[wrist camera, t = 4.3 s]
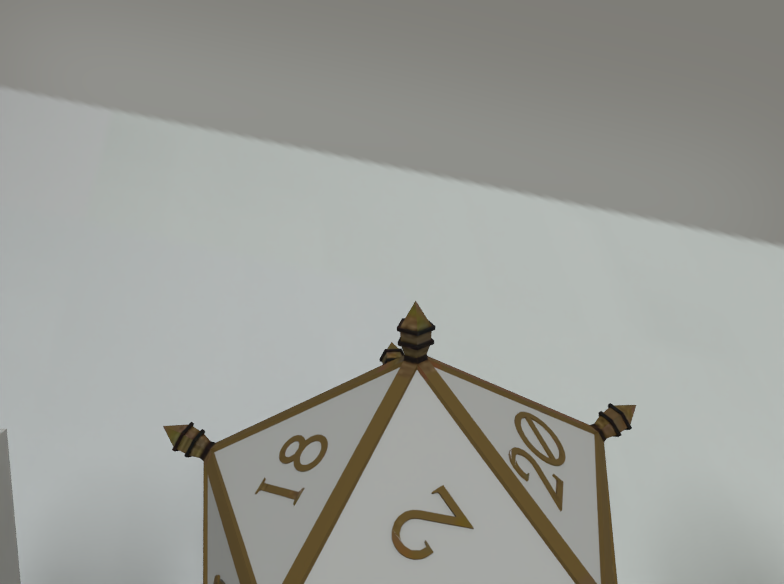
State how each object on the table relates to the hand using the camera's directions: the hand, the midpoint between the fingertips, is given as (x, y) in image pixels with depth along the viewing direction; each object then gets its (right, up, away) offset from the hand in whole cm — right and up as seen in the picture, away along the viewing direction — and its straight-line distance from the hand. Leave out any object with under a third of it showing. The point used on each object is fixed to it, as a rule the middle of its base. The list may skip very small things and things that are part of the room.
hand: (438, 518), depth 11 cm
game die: (-1, -3, +5) cm, 6 cm away
